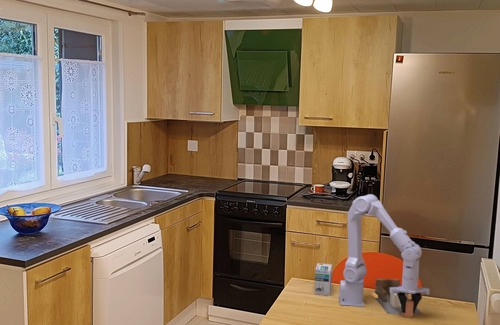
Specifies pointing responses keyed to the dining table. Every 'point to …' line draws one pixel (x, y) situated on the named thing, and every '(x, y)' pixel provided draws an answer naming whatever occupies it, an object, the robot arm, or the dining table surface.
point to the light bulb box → (323, 279)
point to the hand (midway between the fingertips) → (408, 312)
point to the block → (396, 304)
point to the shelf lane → (388, 295)
